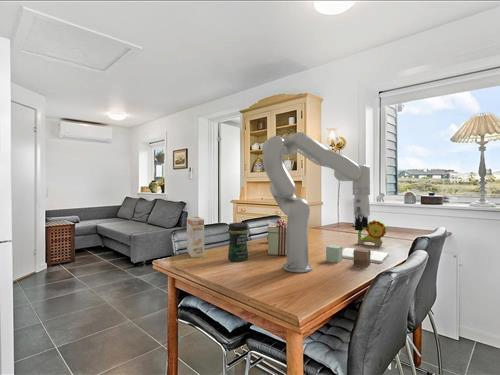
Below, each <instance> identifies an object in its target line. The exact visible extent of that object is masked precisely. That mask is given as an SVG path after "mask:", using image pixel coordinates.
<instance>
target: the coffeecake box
mask: <svg viewBox="0 0 500 375" xmlns="http://www.w3.org/2000/svg"><path fill="white" fill-rule="evenodd" d="M186 252H187V254H188V255H189V256H190V257H191V258H193V259H194V258H201V257H202V258H205V257H206V256H205V219H204V218H202V217H200V216H187V217H186Z"/></svg>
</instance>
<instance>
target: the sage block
mask: <svg viewBox="0 0 500 375" xmlns="http://www.w3.org/2000/svg"><path fill="white" fill-rule="evenodd" d="M342 250H343V245H337V244H329V245H326V248H325V261H326V262H329V263H337V264H339V263H340V262H342V261H343V258H342Z"/></svg>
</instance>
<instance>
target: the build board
mask: <svg viewBox="0 0 500 375" xmlns="http://www.w3.org/2000/svg"><path fill="white" fill-rule="evenodd" d="M355 249H356V248H351V247H346V248H344V249H343V248H342V259H349V260H354V250H355ZM389 254H390V252H384V251H375V250H370V263H376V264H382V263H384V262H385V260H386V259H387V258H388V257H389Z"/></svg>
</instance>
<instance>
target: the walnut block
mask: <svg viewBox="0 0 500 375" xmlns="http://www.w3.org/2000/svg"><path fill="white" fill-rule="evenodd" d="M354 249H355V250H354V259H353V266H355V265H356V266H355V267H361V266H362V268H368V267H370V266H371V262H370V251H371V249H369V248H361V247H356V248H354Z"/></svg>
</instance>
